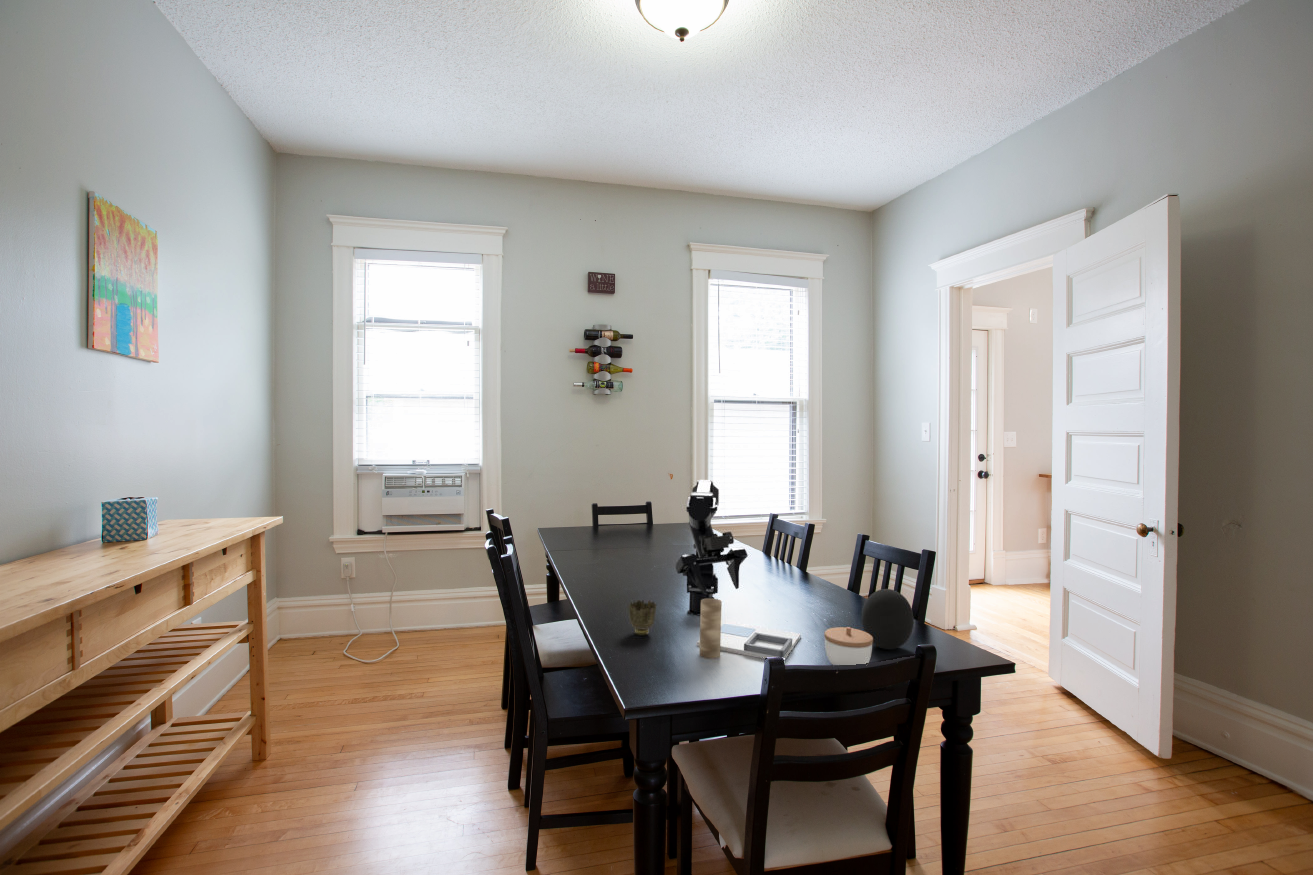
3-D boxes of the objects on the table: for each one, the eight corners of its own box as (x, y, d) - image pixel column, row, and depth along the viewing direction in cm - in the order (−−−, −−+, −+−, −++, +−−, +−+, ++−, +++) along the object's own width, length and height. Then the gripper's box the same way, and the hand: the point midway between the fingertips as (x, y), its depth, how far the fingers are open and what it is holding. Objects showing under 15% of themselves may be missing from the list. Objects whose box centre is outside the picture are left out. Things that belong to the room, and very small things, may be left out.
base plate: (696, 645, 152) (696, 635, 152) (721, 624, 169) (722, 615, 169) (783, 662, 143) (783, 651, 143) (800, 637, 160) (800, 628, 160)
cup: (659, 631, 162) (660, 601, 162) (650, 640, 155) (651, 609, 155) (633, 627, 165) (634, 598, 164) (623, 636, 158) (624, 605, 158)
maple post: (696, 656, 145) (697, 602, 145) (703, 649, 150) (705, 597, 149) (716, 659, 143) (717, 605, 143) (723, 653, 148) (724, 600, 147)
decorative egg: (868, 636, 162) (870, 580, 162) (917, 646, 155) (919, 588, 155) (854, 649, 152) (856, 590, 152) (906, 661, 145) (908, 599, 145)
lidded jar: (836, 678, 134) (837, 636, 134) (815, 659, 145) (817, 620, 145) (881, 676, 136) (882, 634, 136) (857, 657, 147) (858, 619, 146)
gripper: (680, 525, 153) (698, 582, 144) (745, 518, 159) (766, 572, 151) (668, 545, 161) (684, 600, 153) (730, 537, 168) (749, 590, 160)
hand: (721, 590), depth 154 cm, fingers open, 9 cm apart
